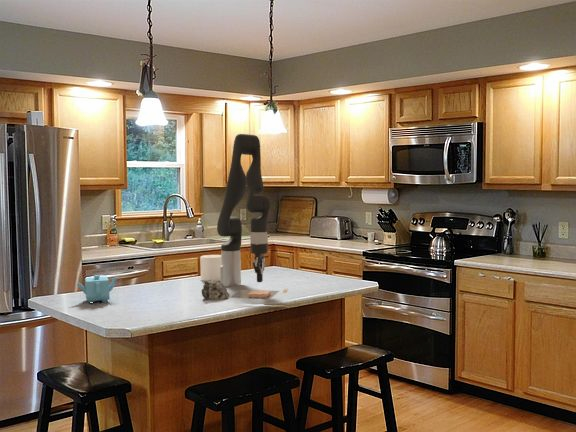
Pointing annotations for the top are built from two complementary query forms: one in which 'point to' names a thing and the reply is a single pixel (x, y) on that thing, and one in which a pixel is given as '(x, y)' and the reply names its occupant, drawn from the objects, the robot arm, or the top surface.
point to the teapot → (97, 288)
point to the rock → (214, 290)
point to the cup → (210, 267)
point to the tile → (259, 294)
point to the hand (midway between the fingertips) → (259, 281)
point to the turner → (284, 290)
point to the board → (245, 292)
